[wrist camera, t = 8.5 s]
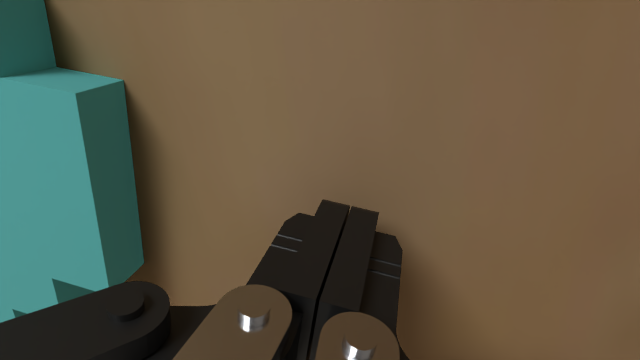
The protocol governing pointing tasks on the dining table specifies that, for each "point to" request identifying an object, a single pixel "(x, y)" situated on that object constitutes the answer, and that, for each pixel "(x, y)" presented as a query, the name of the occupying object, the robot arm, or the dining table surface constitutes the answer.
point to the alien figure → (60, 173)
